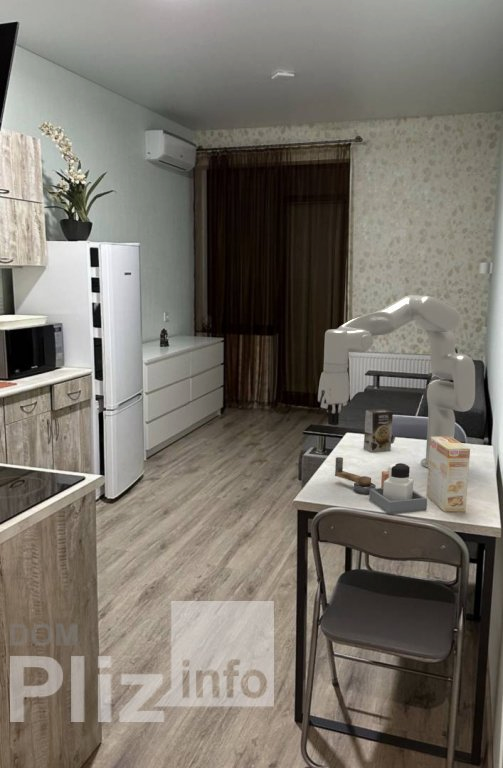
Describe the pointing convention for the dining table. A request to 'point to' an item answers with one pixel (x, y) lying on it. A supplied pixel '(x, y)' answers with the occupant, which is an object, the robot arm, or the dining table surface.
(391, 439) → the cell phone
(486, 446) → the dining table surface
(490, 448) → the dining table surface
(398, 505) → the tray
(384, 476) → the block
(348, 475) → the crank
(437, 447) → the coffeecake box
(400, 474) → the medicine bottle
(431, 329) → the robot arm
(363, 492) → the crank base
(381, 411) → the coffee box
